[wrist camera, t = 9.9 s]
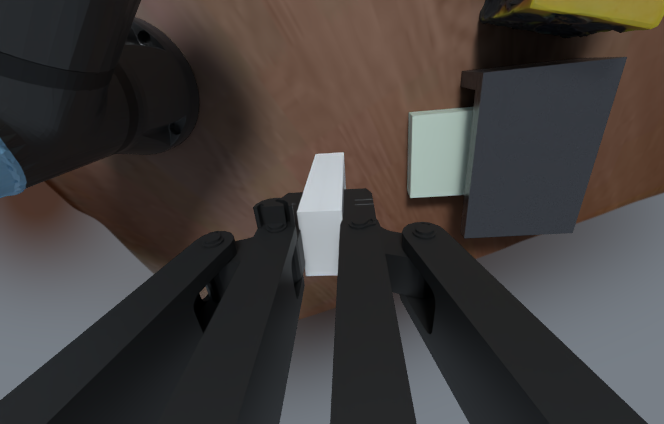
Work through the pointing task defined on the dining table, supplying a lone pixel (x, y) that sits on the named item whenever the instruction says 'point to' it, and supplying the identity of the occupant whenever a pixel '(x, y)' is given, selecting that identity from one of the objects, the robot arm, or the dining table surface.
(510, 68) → the riser
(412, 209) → the dining table surface
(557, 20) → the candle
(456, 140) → the mint green panel
